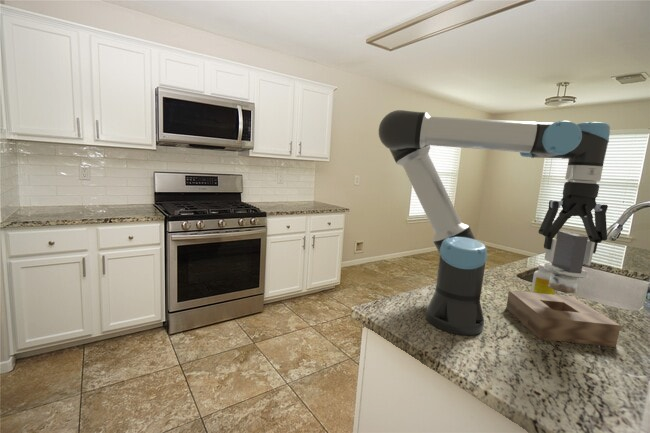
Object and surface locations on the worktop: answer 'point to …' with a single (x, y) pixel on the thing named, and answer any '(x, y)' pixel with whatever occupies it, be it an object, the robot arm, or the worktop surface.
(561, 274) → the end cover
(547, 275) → the supplement bottle
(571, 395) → the worktop surface
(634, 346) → the worktop surface
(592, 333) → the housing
